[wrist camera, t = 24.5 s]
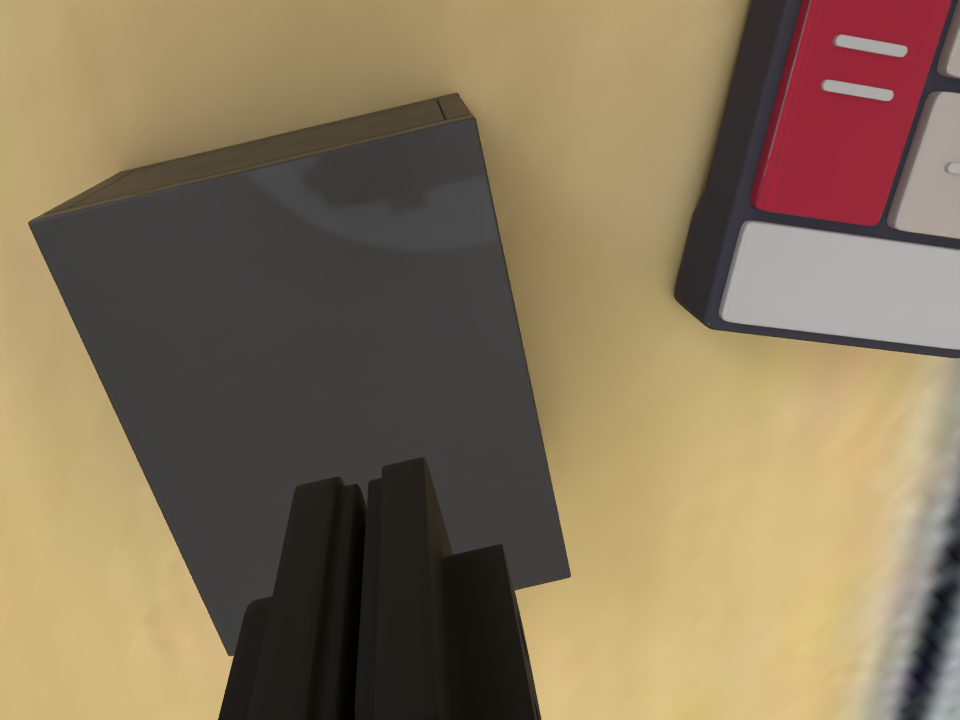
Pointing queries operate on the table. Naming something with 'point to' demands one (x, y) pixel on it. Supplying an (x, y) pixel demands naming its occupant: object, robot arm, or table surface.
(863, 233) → the calculator
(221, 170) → the case
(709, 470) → the table surface
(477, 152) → the case lid
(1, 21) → the table surface
